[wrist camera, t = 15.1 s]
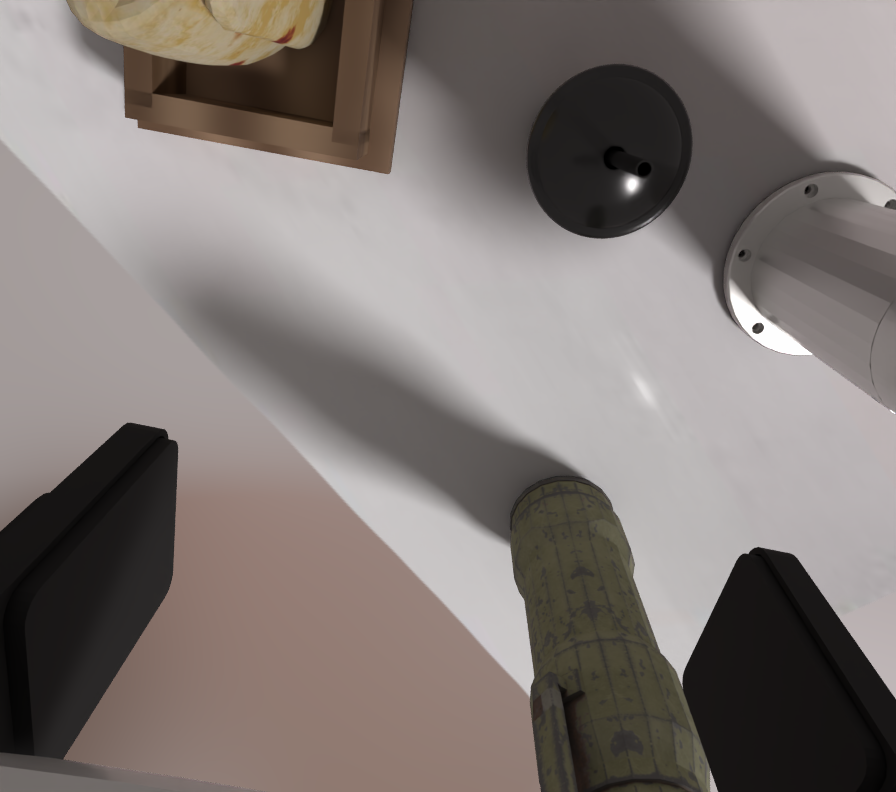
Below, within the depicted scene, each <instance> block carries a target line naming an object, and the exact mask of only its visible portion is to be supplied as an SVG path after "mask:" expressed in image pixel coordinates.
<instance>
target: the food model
mask: <svg viewBox="0 0 896 792" xmlns="http://www.w3.org/2000/svg"><path fill="white" fill-rule="evenodd" d="M332 1H333V0H67V3H68V5H69V7H70V9H71V11H72V12H73V14H74V15H75V16H76V17H77V18H78V20H79V21H80V22H81V23H82V24H83V26H85V27H87V28H88V29H90V30H91V31H93V32H94V33H96V34H97V35H99V36H101V37H103V38H106V39H108V40H111V41H113V42H116V43H119V44H121V45H124V46H127V47H130V48H133V49H136V50H140V51H143V52H146V53H149V54H152V55H156V56H160V57H164V58H169V59H174V60H179V61H184V62H189V63H195V64H203V65H220V66H229V65H248V64H251V63H254V62H257V61H259V60H262V59H264V58H266V57H269V56H271V55H273V54H275V53H276V52H278V51H279V50H281V49H282V48H283V47H285V46H288V47H291V48H296V49H301V48H305V47H307V46H310V45H312V44H313V43H314V42H315V41H316V39H317V38H318V37H319V35H320V34H321V33H322V31H323V30H324V29H325V27H326V24H327V20H328V17H329V14H330V11H331V6H332Z"/></svg>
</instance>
